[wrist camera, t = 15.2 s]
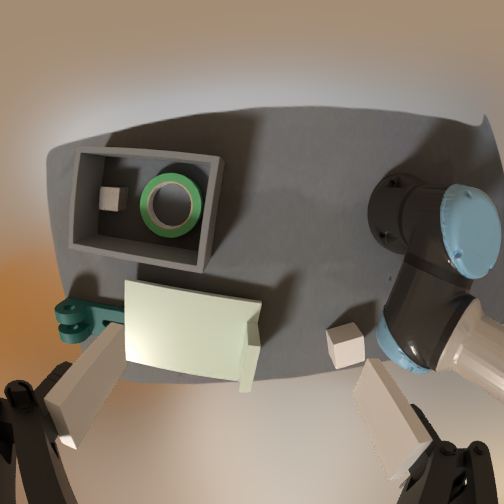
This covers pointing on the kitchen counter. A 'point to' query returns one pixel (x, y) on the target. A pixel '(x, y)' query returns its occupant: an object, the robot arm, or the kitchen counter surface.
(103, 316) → the bracket
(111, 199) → the steel block
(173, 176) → the tape roll
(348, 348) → the white cube
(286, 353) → the kitchen counter surface
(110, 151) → the tub
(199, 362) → the pale green l-shaped plate
